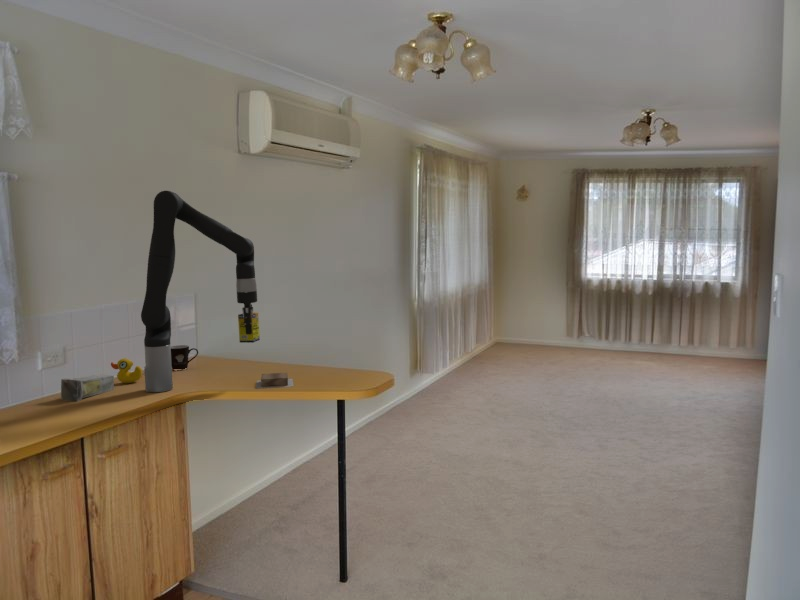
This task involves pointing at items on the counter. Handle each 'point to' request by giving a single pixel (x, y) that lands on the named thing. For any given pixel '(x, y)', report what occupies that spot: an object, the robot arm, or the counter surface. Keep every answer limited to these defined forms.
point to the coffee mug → (180, 356)
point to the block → (85, 387)
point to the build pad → (258, 386)
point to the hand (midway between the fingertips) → (249, 332)
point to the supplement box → (255, 329)
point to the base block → (274, 379)
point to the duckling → (124, 373)
